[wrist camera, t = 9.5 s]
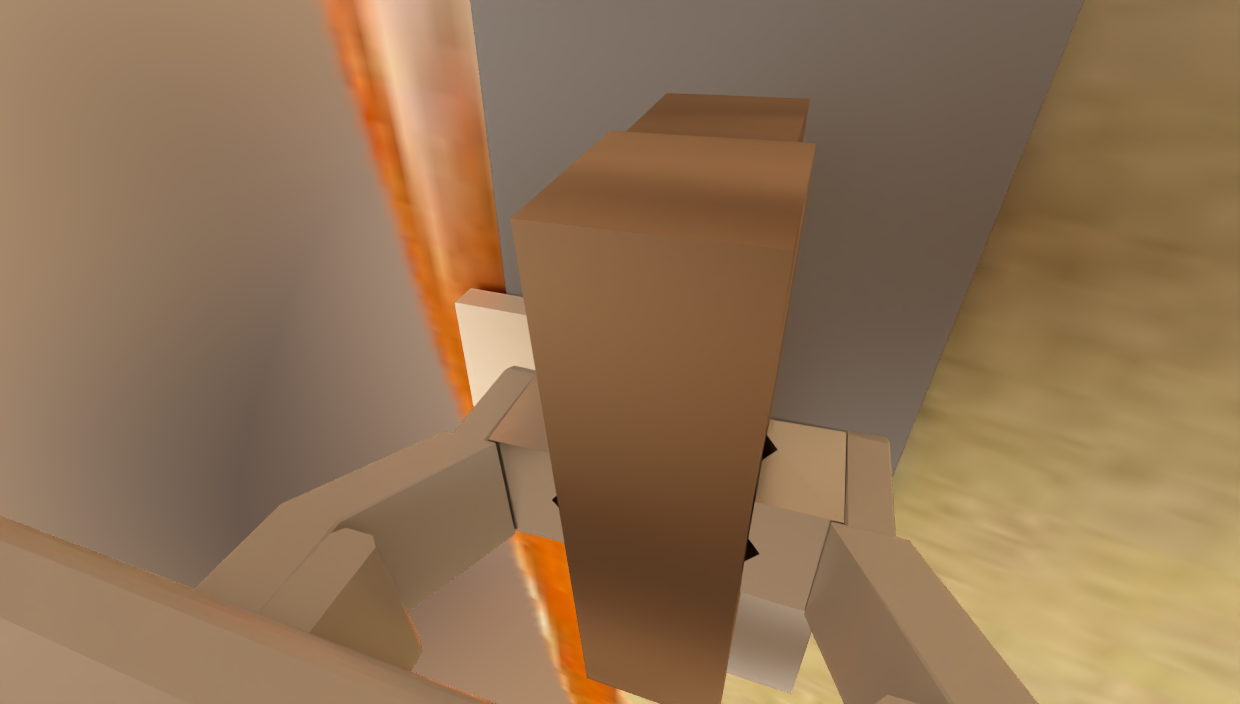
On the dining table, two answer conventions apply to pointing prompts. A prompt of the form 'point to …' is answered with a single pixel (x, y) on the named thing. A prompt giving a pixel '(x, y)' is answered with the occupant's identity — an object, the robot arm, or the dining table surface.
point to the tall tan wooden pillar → (668, 383)
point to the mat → (843, 160)
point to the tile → (492, 337)
